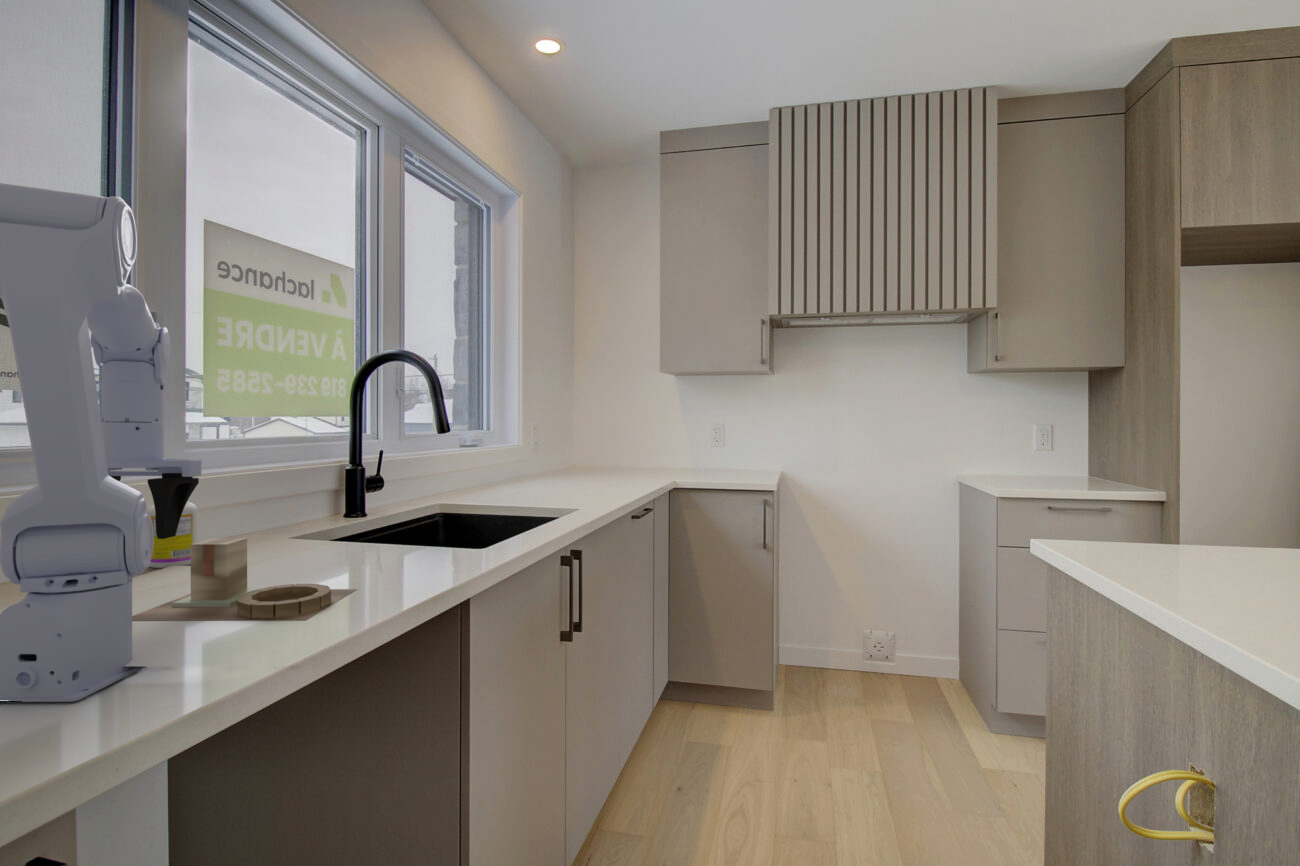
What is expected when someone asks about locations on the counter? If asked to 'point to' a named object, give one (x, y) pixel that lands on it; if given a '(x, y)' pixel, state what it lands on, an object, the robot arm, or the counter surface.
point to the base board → (256, 605)
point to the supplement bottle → (175, 540)
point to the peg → (218, 568)
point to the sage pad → (209, 601)
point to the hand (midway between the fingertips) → (133, 537)
